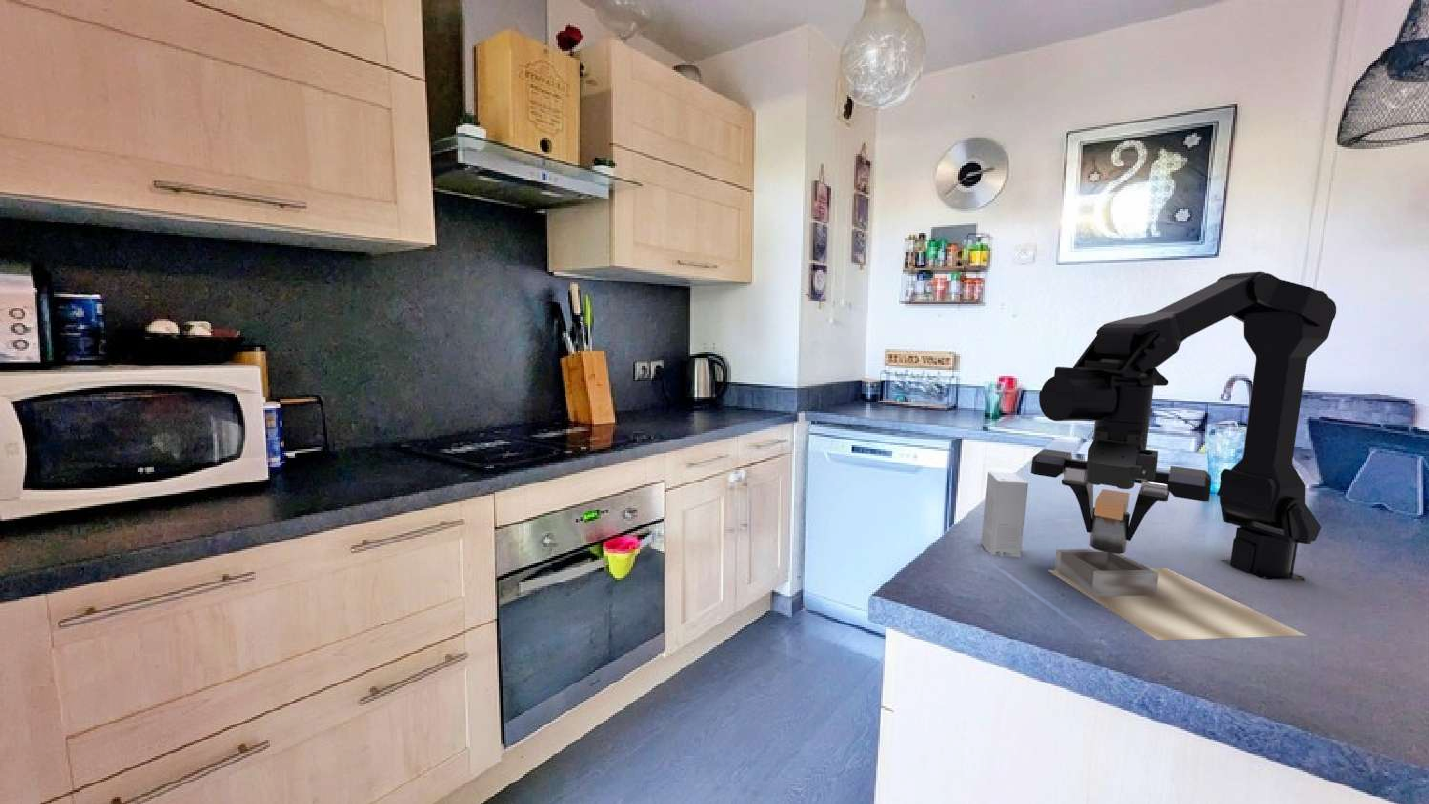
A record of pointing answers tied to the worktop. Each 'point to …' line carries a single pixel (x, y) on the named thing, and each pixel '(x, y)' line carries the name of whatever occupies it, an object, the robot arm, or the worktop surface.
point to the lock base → (1161, 599)
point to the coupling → (1110, 522)
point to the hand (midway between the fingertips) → (1108, 535)
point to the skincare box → (1004, 514)
